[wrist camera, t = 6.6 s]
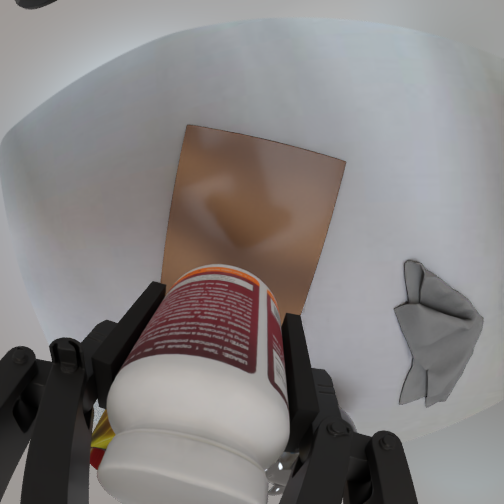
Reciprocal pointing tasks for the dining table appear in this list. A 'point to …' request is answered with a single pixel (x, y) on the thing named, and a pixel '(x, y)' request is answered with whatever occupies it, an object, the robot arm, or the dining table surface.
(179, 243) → the cork mat
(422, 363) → the cloth
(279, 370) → the pill bottle
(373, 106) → the dining table surface
